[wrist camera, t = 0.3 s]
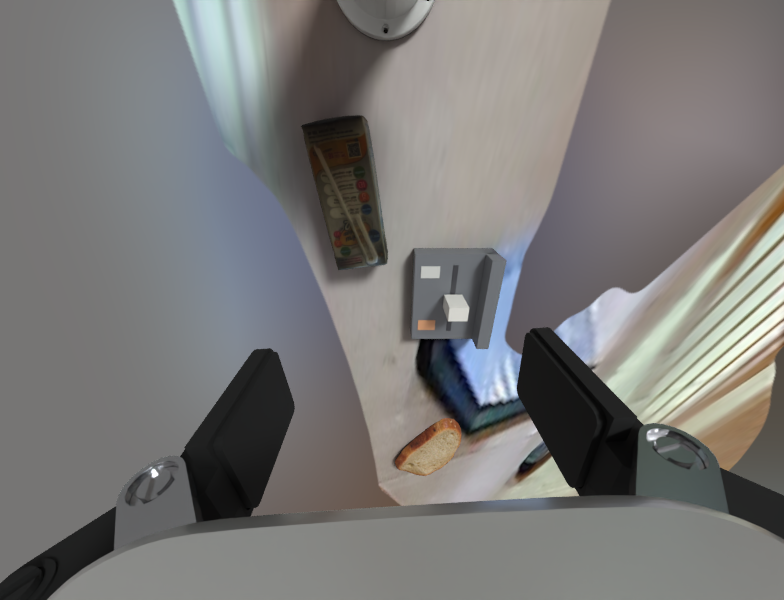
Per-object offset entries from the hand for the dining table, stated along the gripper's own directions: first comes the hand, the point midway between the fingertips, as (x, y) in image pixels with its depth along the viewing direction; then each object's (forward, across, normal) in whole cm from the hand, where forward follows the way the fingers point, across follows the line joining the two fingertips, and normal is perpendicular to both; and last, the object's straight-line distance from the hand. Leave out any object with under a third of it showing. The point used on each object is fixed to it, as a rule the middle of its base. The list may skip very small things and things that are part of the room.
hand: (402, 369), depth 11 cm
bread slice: (+38, -4, +57) cm, 69 cm away
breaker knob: (+33, -9, +14) cm, 37 cm away
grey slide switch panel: (+36, -9, +14) cm, 40 cm away
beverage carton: (+36, +5, -3) cm, 37 cm away
